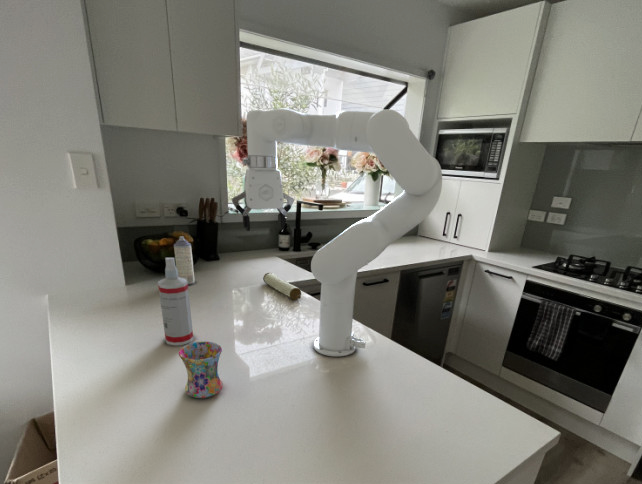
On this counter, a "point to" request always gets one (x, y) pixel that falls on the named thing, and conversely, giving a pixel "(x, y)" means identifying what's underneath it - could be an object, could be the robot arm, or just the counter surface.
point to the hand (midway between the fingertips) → (264, 229)
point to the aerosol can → (184, 260)
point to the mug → (202, 368)
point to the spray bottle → (175, 306)
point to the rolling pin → (282, 286)
